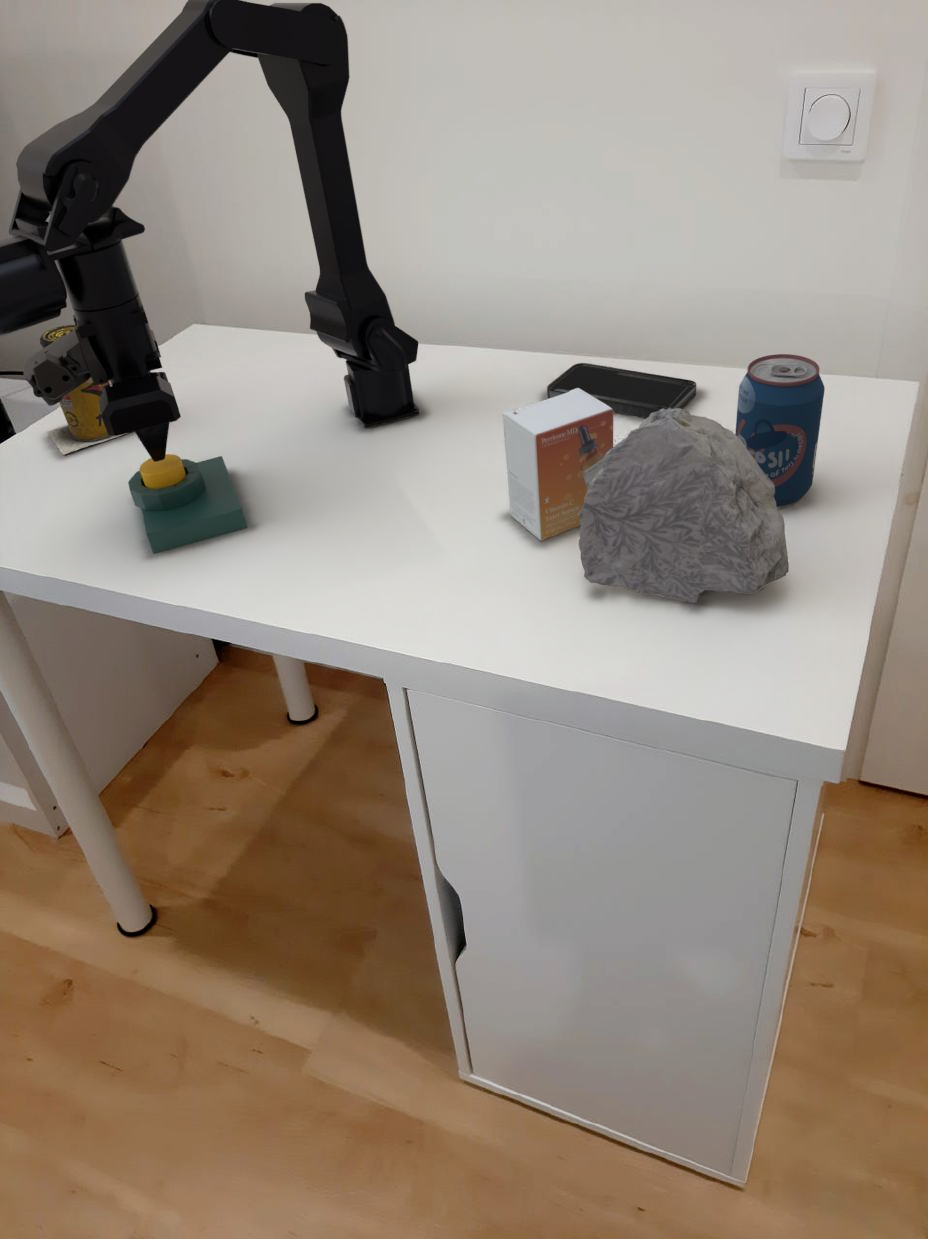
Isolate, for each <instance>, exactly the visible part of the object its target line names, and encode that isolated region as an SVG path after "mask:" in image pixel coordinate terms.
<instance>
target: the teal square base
mask: <svg viewBox="0 0 928 1239" xmlns="http://www.w3.org/2000/svg"><path fill="white" fill-rule="evenodd" d="M181 460H182V464H183V467H184V470H185V473H186V477H185V478H184V480H182V481H180V482H179V483H177V484H175V485H172V486H169V487H165V488H161V489H149V488H147V487H146V486H145V484H144V481H143V478H142V475H141V472H140V469H139V470H138V471H136V472H135V473H134V474H133V475H132V477H131V478H130V479H129V480H128V482H127V484H128V489H129V492H130V495H131V497H132V498H131V499H132V500H133V503H134V505H135V506H136V507H137V508H139V509H140V510H141V515H142V520H143V525H144V531H145V534H146V538H147V540H148V543H149V546H150V549H151V551H152V553H153V554H154V555H155V554H158V553H161V552H165V551H169V550H173V549H176V548H180V547H183V546H186V545H189V544H190V545H191V544H195V543H198V542H201V541H204V540H209V539H212V538H216V537H219V536H222V535H227V534H230V533H233V532H237V531H241V530H244V529H247V528H248V525H247V522H246V518H245V514H244V511H243V508H242V505H241V502H240V500H239V497H238V495H237V492H236V490H235V487H234V484H233V482H232V478H231V476H230V474H229V471H228V469H227V466H226V463H225V460H224V457H223V456H222V455H220V456H217V457H212V458H208V459H205V460H201V461H197V462H195V461H192V460H190V459H186V458H181Z"/></svg>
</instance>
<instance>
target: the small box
mask: <svg viewBox="0 0 928 1239" xmlns="http://www.w3.org/2000/svg"><path fill="white" fill-rule="evenodd" d="M502 428H503V437H504V438H503V439H504V440H503V441H504V450H505V463H506V475H507V476H506V477H507V489H508V504H509V514H510V516H511V517H512V518H513V519H514V520H516V521H517V522H518V523H519V524H520V525H522V526H523V527H524V528H525V529H526V530H527V531H529V532H530V533H531V534H532V535H533V536H535V538H537V539H538V540H539V541H545V540H546V539H549V538H551V537H553V536H557V535H558V534H561V533H564V532H567V531H569V530H572V529H574V528H577V527H581V523H580V518H579V515H578V513H579V512H580V510H581V508H582V507H583V505H584V498H585V496H586V494H587V492H588V487H589V484H590V483H591V481H592V480H593V479H594V477H595V475H596V474H597V473H598V472H599V471H600V470H601V469H602V468H603V462H604V460H603V458H604V456H605V454H606V453H607V452H608V451H609V450H610V449H612V448H613V447H614V411H613V409H612V408H611V407H609V406H608V405H606V404H604V403H603V402H601V401H599V400H598V399H596V398H594V397H593V396H591V395H590V394H588V393H586V392H585V391H583V390H581V389H580V388H576V389H573V390H571V391H569V392H567V393H564V394H561V395H558V396H555V397H552V398H547V399H544V400H541V401H537V402H535V403H532V404H529V405H525V406H522V407H519V408H516V409H511V410H507V411H504V412H502Z"/></svg>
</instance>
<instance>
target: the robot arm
mask: <svg viewBox="0 0 928 1239" xmlns="http://www.w3.org/2000/svg"><path fill="white" fill-rule="evenodd" d="M229 54H235V55H240V56H245V57H249V58H255V59H257V60H258V62H259V65H260V67H261V70H262V73H263V76H264V79H265V81H266V84H267V86H268V88H269V90H270V91H271V93H272V95H273V97H274V98H275V99H276V101H277V103H278V104H279V106H280V107H281V109H282V110H283V112H284V113H285V116H286V117H287V119H288V122H289V125H290V130H291V135H292V140H293V146H294V150H295V156H296V159H297V160H296V161H297V165H298V170H299V174H300V180H301V186H302V189H303V195H304V198H305V203H306V209H307V214H308V218H309V223H310V228H311V233H312V239H313V243H314V248H315V252H316V257H317V262H318V266H319V275H318V279H317V283H316V286H315V289H314V290H310V291H309V290H308V291H305V292H304V301H305V304H306V306H307V308H308V312H309V320H310V322H309V329H310V330H312V331H314V332H316V335H317V337H318V339H319V340H320V342H322V343H323V344H324V345H326V346H327V347H329V348H331V349H332V351H333V353H334V354H335V356H336V357H337V358H339V359H343V360H345V365H346V370H347V374H345V375H344V376H343V382H344V388H345V393H346V398H347V403H348V407H349V410H350V412H351V413H352V415H353V417H354V418H356V419H358V421H360V423H361V425H362V426H363V427H364V428H365V429H366V428H372V427H376V426H379V425H383V424H387V423H391V422H395V421H399V420H402V419H406V418H411V417H414V416H418V415H420V414H421V412H420V408H419V407H418V406H417V405H416V403H415V401H414V400H415V399H414V394H413V387H412V381H411V380H412V379H411V374H410V368H409V367H410V366H409V365H410V364H413V363H415V362H417V357H418V351H419V350H418V349H419V341H418V340H417V339H416V338H414V337H413V336H411V335H410V334H408V333H407V332H405V331H404V330H403V329H401V328H400V327H398V326H396V323H395V320H394V316H393V313H392V310H391V307H390V303H389V300H388V297H387V295H386V293H385V291H384V290H383V288H382V287H381V285H380V284H379V282H378V281H377V279H376V277H375V276H374V274H373V272H372V271H371V269H370V267H369V265H368V260H367V255H366V254H367V253H366V247H365V243H364V237H363V230H362V226H361V220H360V214H359V209H358V203H357V197H356V192H355V187H354V186H355V185H354V181H353V180H354V179H353V174H352V168H351V162H350V158H349V151H348V146H347V141H346V135H345V129H344V123H343V117H342V116H343V114H342V109H343V105H344V101H345V98H346V94H347V90H348V85H349V82H350V78H351V76H350V55H349V54H350V53H349V36H348V31H347V29H346V25H345V22H344V20H343V18H342V16H340V15H338V13H336V11H334V10H333V9H332V7H330V6H329V5H326V4H324V3H322V2H273V3H272V4H270V5H268V4H262V3H255V2H251V1H246V0H187V1H186V2H185V4H184V6H183V8H182V10H181V12H180V13H179V14H178V15H177V16H176V17H175V18H174V19H173V20H172V21H171V22H170V24H168V26H166V28H165V29H164V30H163V31H162V32H161V33H160V34H159V35H158V36H157V37H156V38H155V39H154V40H153V42H151V43H150V44H149V46H148V47H147V48H145V50H144V51H143V52H142V53H141V54H140V55H139V56H138V57H137V58H136V59H135V60H134V61H133V62H132V64H131V65H129V66H128V67H127V69H126V70H125V71H124V72H123V73H122V74H121V75H120V76H119V77H118V78H117V79H116V80H115V81H113V84H111V85H110V86H109V88H107V89H106V90H105V92H104V93H103V94H102V95H101V96H100V97H99V98H98V99H97V100H96V101H95V102H94V103H93V104H92V105H90V106H88V107H87V108H86V109H84V110H83V111H81V112H79V113H76V114H75V115H72V116H71V117H68V118H65V119H64V120H62V121H60V122H58V123H57V124H55V125H53V126H52V127H51V128H49V129H47V130H46V131H44V132H43V133H42V134H40V135H39V136H37V137H36V138H34V139H33V140H32V141H30V142H29V143H27V144H26V145H25V146H24V147H23V148H22V150H21V151H20V153H19V155H18V156H17V159H16V164H15V166H16V170H17V171H16V173H17V182H18V185H19V191H18V194H17V198H16V202H15V206H14V209H13V213H12V217H11V220H10V223H9V228H8V234H9V236H10V237H9V238H5V239H2V240H0V338H3V337H4V336H8V335H10V334H13V333H16V332H19V331H21V330H24V329H27V328H30V327H33V326H36V325H39V324H42V323H45V322H47V321H48V322H49V321H50V320H53V319H56V318H59V317H60V316H61V314H62V310H63V309H66V308H68V307H67V306H68V305H67V303H68V302H67V299H69V303H70V305H71V308H72V312H73V314H72V319H73V322H74V324H75V325H76V326H75V330H74V331H72V332H70V333H69V334H67V335H65V336H62V337H61V338H59V339H57V340H56V341H54V342H53V343H51V344H50V345H48V346H47V347H45V348H44V349H43V348H42V349H40V350H39V351H38V352H35V353H34V354H33V355H32V356H30V357H29V358H27V360H25V362H24V363H23V378H24V380H25V381H26V382H27V383H28V384H29V386H30V387H32V393H33V395H34V396H35V397H37V398H41V399H42V400H43V401H44V402H45V403H46V404H47V405H48V406H49V407H52V406H55V405H57V404H60V403H59V402H60V401H62V398H63V396H65V395H67V394H68V393H70V392H71V391H73V390H74V389H76V388H77V387H79V386H80V385H82V384H83V383H85V382H86V381H87V380H88V379H89V378H90V377H91V378H92V381H93V383H94V386H96V385H101V384H105V383H108V382H109V384H107V385H104V386H103V387H102V395H101V397H100V398H99V400H98V401H99V407H100V413H101V417H102V420H103V422H104V425H105V428H106V431H107V433H108V435H111V436H118V435H121V436H123V435H127V434H129V433H135V435H136V436H137V438H138V440H139V441H140V443H141V444H142V445H143V447H144V449H145V451H146V453H148V455H149V457H150V458H152V460H153V461H154V462H157V461H161V460H164V459H165V454H167V445H168V437H169V431H170V430H169V429H170V423H174V422H176V421H178V420H180V419H181V417H182V415H181V413H180V409H179V406H178V403H177V399H176V395H175V394H174V390H173V387H172V384H171V382H169V379H168V376H167V373H166V372H165V371H155V370H159V369H163V365H162V362H161V359H160V358H162V355H161V351H160V348H159V345H158V342H157V339H156V336H155V333H154V330H153V329H151V327H150V323H149V319H148V316H147V313H146V310H145V308H144V305H143V304H144V303H143V301H142V298H141V295H140V292H139V288H138V285H137V282H136V279H135V275H134V272H133V269H132V267H131V263H130V260H129V256H128V253H127V250H126V247H125V244H124V240H126V239H128V238H129V239H130V238H132V237H134V236H138V235H142V234H144V232H145V231H146V227H145V225H144V224H143V223H141V222H138V221H136V220H135V219H133V218H131V217H130V216H128V215H127V214H126V213H125V212H124V211H123V210H122V209H121V208H120V207H118V206H115V205H114V204H115V203H116V201H117V200H118V198H119V196H120V195H121V193H122V191H123V190H124V188H125V187H126V185H127V183H128V182H129V180H130V177H131V174H132V171H133V167H134V165H135V160H136V159H137V156H138V154H139V153H140V151H141V150H142V148H143V147H144V145H145V144H146V143H147V141H148V140H149V139H150V138H152V136H153V135H154V134H155V133H156V132H157V131H158V130H159V128H161V126H163V124H164V123H165V122H166V121H167V120H168V119H169V118H170V117H171V116H172V115H173V114H174V113H175V111H176V110H177V109H178V108H179V107H180V106H181V105H182V104H183V103H184V102H185V101H186V99H188V98H189V97H190V95H192V93H194V91H195V90H196V89H197V88H198V87H199V86H200V84H201V83H202V82H204V80H205V79H206V78H207V77H208V76H209V75H210V74H211V73H212V72H213V71H214V70H215V69H216V67H217V66H219V65H220V63H221V62H222V61H223V60H224V59H225V58H226V57H227V56H228V55H229ZM48 218H49V220H48ZM126 433H127V434H126ZM122 434H123V435H122Z"/></svg>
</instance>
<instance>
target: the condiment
mask: <svg viewBox="0 0 928 1239" xmlns="http://www.w3.org/2000/svg"><path fill="white" fill-rule="evenodd" d="M75 326H76V325H75V323H74V324H64V325H61V326H57V327H53V328H51V329H49V330H47V331H45V332H44V333H43V334H41V336H40V338H39V344H40V346H41V347H42V349H44V348H45V347H47V346H48V345H50V344H51V343H53V342H54V341H56V340H57V339H59V338H61V337H62V336H65V335H67V334H69V333H70V332H72V331H74V330H75ZM107 384H109V382H108V383H105V384H101V385H96V386H94V383H93V381H92V378H91V377H90V378H89V379H88V380H87V381H86V382H85V383H83V384H82V385H80V386H79V387H77V388H76V389H74V390H73V391H71V392H70V393H68V394H67V395H65V396H63V398H62V401H60V402H59V403H58V404H59V405H60V408H61V411H62V413H63V416H64V418H65V421H66V423H67V425H65V426H62V427H58V428H54V429H51V430H48V431H46V433H47V435H48V436H49V438H50V440H52V442H53V443H54V445H55V447H56V448H57V449H58V450H59V451H60V452H61V454H62V455H63V456H65V455H66V454H67V455H68V454H69V453H73V452H76V451H78V450H80V449H85V448H87V447H89V446H94V445H96V444H100V443H103V442H106V441H110V440H112V439H115V438H118V437H121V436H124V434H122V435H118V436H111V435H108V433H107V431H106V428H105V425H104V422H103V420H102V417H101V413H100V407H99V401H98V400H99V398H100V397H101V395H102V387H103V386H104V385H107ZM127 434H128V433H126V434H125V435H127Z"/></svg>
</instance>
